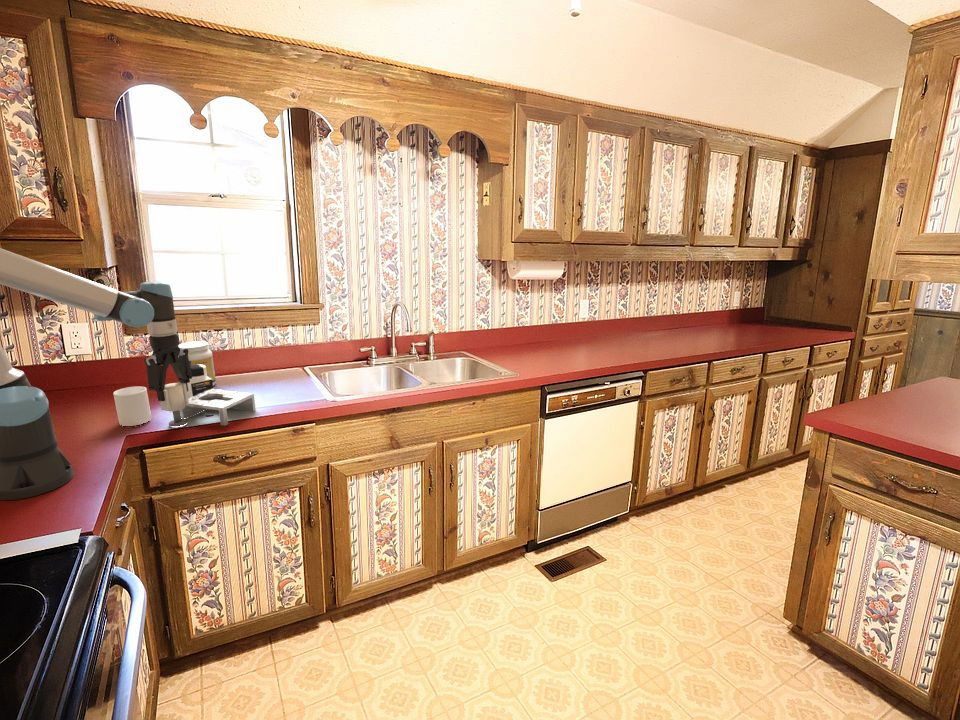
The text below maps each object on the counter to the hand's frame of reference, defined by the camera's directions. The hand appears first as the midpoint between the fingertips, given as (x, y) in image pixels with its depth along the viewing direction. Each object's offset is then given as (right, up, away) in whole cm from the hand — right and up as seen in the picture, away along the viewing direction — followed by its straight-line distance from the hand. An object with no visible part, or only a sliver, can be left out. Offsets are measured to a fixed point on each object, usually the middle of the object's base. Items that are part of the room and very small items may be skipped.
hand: (175, 406), depth 155 cm
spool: (0, -6, +2) cm, 6 cm away
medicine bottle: (-7, +1, +27) cm, 28 cm away
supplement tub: (-14, +4, +38) cm, 41 cm away
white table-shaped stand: (+8, -4, +10) cm, 14 cm away
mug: (-16, -5, +5) cm, 17 cm away
